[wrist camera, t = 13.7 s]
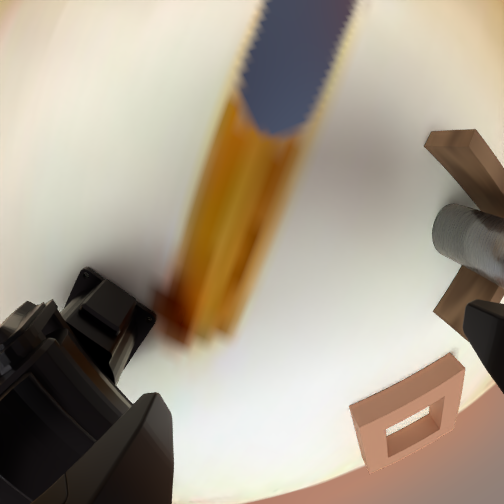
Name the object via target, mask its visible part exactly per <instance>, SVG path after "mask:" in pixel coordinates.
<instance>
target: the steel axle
mask: <svg viewBox="0 0 504 504" xmlns="http://www.w3.org/2000/svg"><path fill="white" fill-rule="evenodd" d="M432 236H433V243H434V246H435V248H436V250H437V251H438V252H439V253H440V254H442V255H444V256H446V257H448V258H450V259H452V260H453V261H455V262H457V263H459V264H461V265H463V266H465V267H466V268H468V269H470V270H472V271H474V272H476V273H477V274H479V275H481V276H483V277H484V278H486V279H488V280H490V281H491V282H493V283H495V284H497V285H498V286H500V287H502V288H503V289H504V218H502V217H499V216H496V215H492V214H489V213H486V212H482V211H479V210H476V209H472V208H469V207H465V206H462V205H458V204H449V205H446V206H445V207H444V208H443V209H442V210H441V211H440V212H439V213H438V215H437V217H436V219H435V222H434V225H433V233H432Z"/></svg>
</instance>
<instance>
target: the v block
mask: <svg viewBox="0 0 504 504" xmlns="http://www.w3.org/2000/svg"><path fill="white" fill-rule="evenodd" d="M424 147H425V148H426V149H427V150H428V151H429V152H430V153H431V154H432V155H433V156H434V157H435V158H436V159H437V160H438V161H439V162H440V163H441V164H442V165H443V166H444V168H445V169H446V170H447V171H448V172H449V173H450V174H451V175H452V176H453V178H454V179H455V180H456V181H457V182H458V183H459V184H460V186H461V187H462V188H463V189H464V190H465V192H466V193H467V194H468V195H469V196H470V198H471V199H472V200H473V201H474V203H475V204H476V205H477V206H478V208H479V209H480V210H481V211H482V212H486V213H489V214H492V215H496V216H499V217H502V218H504V168H503V166H502V165H501V163H500V162H499V160H498V159H497V157H496V156H495V155H494V153H493V152H492V150H491V149H490V148H489V146H488V145H487V143H486V142H485V141H484V139H483V138H482V137H481V135H480V134H479V133H478V131H477V130H476V129H469V130H447V131H432V132H431V134H430V136H429V138H428V140H427V142H426V144H425V146H424ZM503 296H504V289H503V288H502V287H500V286H498V285H497V284H495V283H493V282H491V281H490V280H488V279H486V278H484V277H483V276H481V275H479V274H477V273H476V272H474V271H472V270H470V269H468V268H466V267H465V266H463V265H462V267H461V268H460V270H459V272H458V273H457V275H456V277H455V278H454V280H453V282H452V283H451V285H450V287H449V288H448V290H447V291H446V293H445V294H444V296H443V297H442V299H441V300H440V302H439V303H438V305H437V306H436V308H435V309H434V311H433V312H434V313H435V314H436V315H438V316H439V317H440V318H441V319H442V320H444V321H445V322H446V323H447V324H448V325H450V326H451V327H452V328H453V329H454V330H455V331H457V332H458V333H459V334H460V335H461V336H462V337H463V338H465V339H466V340H467V341H468V339H467V338H466V336H465V334H464V332H463V320H464V313H465V307H466V305H467V304H468V303H469V302H471V301H473V300H476V299H479V300H485V301H490V302H495V303H500V301H501V299H502V298H503ZM468 342H469V341H468Z"/></svg>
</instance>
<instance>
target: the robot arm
mask: <svg viewBox="0 0 504 504" xmlns="http://www.w3.org/2000/svg"><path fill="white" fill-rule="evenodd" d="M85 272H86V273H87V274H88V275H89V277H87V276H86V275H85ZM57 308H58V307H57V305H56V304H55V302H54V300H53V299H52V300H51V301H49V302H47V303H46V304H45V303H44V302H43V303H41V304H40V305H35V304H33V303H31V302H29V301H27V302H25V303H24V304H22V305H21V306H20V307H19V308H18V309H17V310H15V311H14V312H13V313H12V314H11V315H10V316H9V317H8V318H6V319H5V321H4V322H3V323H2V324H1V325H0V504H172V488H173V473H174V453H173V425H172V415H171V412H170V410H169V409H168V407H167V405H166V404H165V402H164V400H163V399H162V397H161V395H160V394H159V393H156V392H154V393H146V394H143V395H142V396H141V397H140V398H139V399H138V400H137V401H136V402H135V403H134V404H132V403H131V402H130V401H129V400H128V398H127V397H126V396H125V395H124V394H123V393H122V392H121V391H120V390H119V389H118V388H117V386H116V385H117V383H118V380H119V378H120V376H121V373H122V371H123V369H124V368H125V367H126V365H127V364H128V362H129V361H130V359H131V358H132V356H133V355H134V353H135V352H136V350H137V349H138V347H139V346H140V344H141V343H142V341H143V340H144V338H145V337H146V336H147V334H148V333H149V331H150V330H151V328H152V327H153V325H154V324H155V322H156V319H157V317H156V315H155V313H154V312H152V311H151V310H149V309H148V308H146V307H145V306H143V305H142V304H140V303H139V302H137V301H136V299H135V298H134V297H132V296H131V295H129V294H128V293H126V292H125V291H123V290H122V289H120V288H119V287H118V286H116V285H115V284H113V283H112V282H111V281H109V280H105V279H104V278H103V277H101V276H100V275H99V274H97V273H96V272H95V271H93V270H92V269H91V268H89V267H85V268H84V269H82V270H81V272H80V274H79V276H78V278H77V280H76V282H75V284H74V287H73V289H72V291H71V293H70V296H69V298H68V300H67V303H66V305H65V307H64V309H63V310H62V311H61V312H60V313H59V311H58V310H57ZM147 317H151V318H152V320H148V319H147ZM463 332H464V334H465V336H466V338H467V339H468V341H469V342H470V344H471V345H472V347H473V349H474V350H475V352H476V353H477V355H478V357H479V358H480V360H481V362H482V363H483V365H484V367H485V368H486V370H487V371H488V373H489V374H490V375H491V377H492V378H493V380H494V381H495V382H496V384H497V385H498V387H499V388H500V389H501V391H502V392H503V394H504V304H501V303H495V302H490V301H485V300H479V299H476V300H473V301H471V302H469V303H468V304H467V305H466V307H465V313H464V320H463Z"/></svg>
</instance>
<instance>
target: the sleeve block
mask: <svg viewBox="0 0 504 504" xmlns="http://www.w3.org/2000/svg"><path fill="white" fill-rule="evenodd" d="M464 375H465V367H464V366H463V365H462V364H461V363H460V362H459V361H458V360H457V359H456V358H455V357H454V356H453V355H452V354H451V353H448V354H447V355H445V356H444V357H442V358H441V359H439V360H437V361H436V362H434V363H432V364H431V365H429V366H427V367H426V368H424V369H422V370H420V371H419V372H417V373H415V374H413V375H412V376H410V377H408V378H406V379H404V380H402V381H401V382H399V383H397V384H395V385H393V386H391V387H389V388H387V389H385V390H383V391H381V392H379V393H377V394H375V395H373V396H371V397H368V398H366V399H364V400H362V401H360V402H357V403H355V404H353V405H351V406H349V408H350V412H351V415H352V419H353V423H354V427H355V431H356V434H357V438H358V442H359V446H360V450H361V454H362V458H363V460H364V463H365V465H366V467H367V470H368V472H369V474H372V473H374V472H376V471H378V470H381V469H383V468H385V467H387V466H389V465H391V464H393V463H395V462H397V461H399V460H401V459H403V458H405V457H407V456H409V455H411V454H413V453H415V452H416V451H418V450H420V449H422V448H424V447H425V446H427V445H429V444H430V443H432V442H434V441H435V440H437V439H439V438H440V437H442V436H444V435H445V434H447V433H448V432H450V431H451V430H453V429H454V427H455V423H456V419H457V414H458V409H459V404H460V399H461V394H462V388H463V381H464ZM429 405H430V409H429V414H428V415H426V416H425V417H423V418H421V419H419V420H418V421H416V422H414V423H412V424H410V425H409V426H407V427H405V428H403V429H401V430H399V431H397V432H395V433H393V434H391V435H389V436H387V437H386V429H387V428H389V427H391V426H393V425H395V424H397V423H399V422H401V421H403V420H405V419H406V418H408V417H410V416H412V415H414V414H416V413H417V412H419V411H421V410H423V409H424V408H426V407H428V406H429Z"/></svg>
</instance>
